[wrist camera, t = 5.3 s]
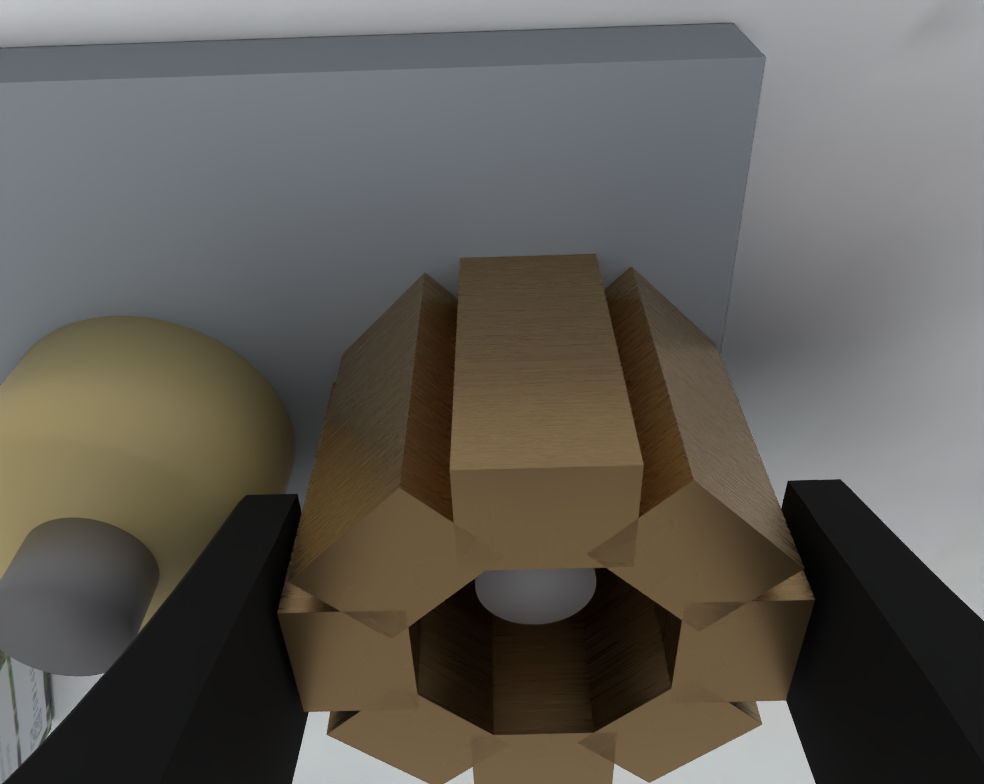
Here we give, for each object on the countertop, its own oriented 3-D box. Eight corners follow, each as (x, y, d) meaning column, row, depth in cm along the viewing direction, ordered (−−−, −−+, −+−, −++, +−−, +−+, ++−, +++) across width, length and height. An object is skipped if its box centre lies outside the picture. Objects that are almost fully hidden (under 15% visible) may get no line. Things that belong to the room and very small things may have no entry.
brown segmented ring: (744, 249, 11) (856, 459, 7) (696, 550, 14) (760, 787, 11) (312, 262, 11) (239, 476, 8) (363, 559, 14) (327, 798, 11)
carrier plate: (733, 23, 11) (886, 185, 7) (662, 575, 16) (720, 839, 12) (-74, 51, 11) (-412, 226, 7) (144, 589, 17) (35, 853, 13)
